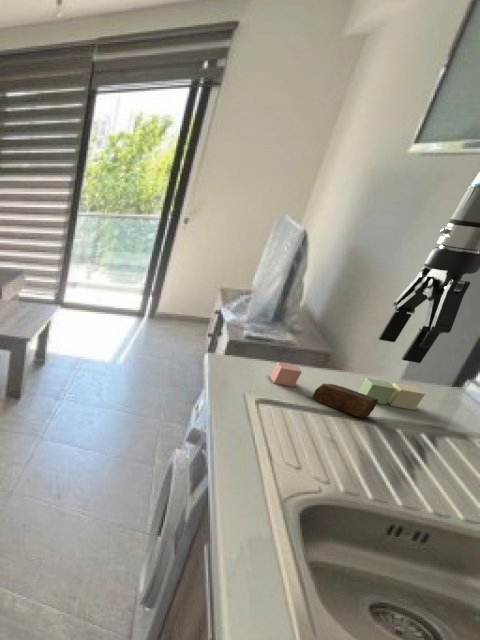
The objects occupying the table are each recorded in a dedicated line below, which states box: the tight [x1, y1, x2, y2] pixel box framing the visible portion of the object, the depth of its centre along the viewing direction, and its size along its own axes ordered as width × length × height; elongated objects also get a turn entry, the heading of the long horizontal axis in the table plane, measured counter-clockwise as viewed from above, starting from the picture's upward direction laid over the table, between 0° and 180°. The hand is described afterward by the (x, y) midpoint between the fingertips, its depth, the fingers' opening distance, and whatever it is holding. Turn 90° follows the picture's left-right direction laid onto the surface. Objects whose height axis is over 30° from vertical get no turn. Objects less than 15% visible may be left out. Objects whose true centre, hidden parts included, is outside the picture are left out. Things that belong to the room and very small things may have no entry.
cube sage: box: [357, 377, 395, 405], centre depth 122 cm, size 4×4×4 cm
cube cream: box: [387, 382, 426, 411], centre depth 120 cm, size 4×4×4 cm
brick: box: [312, 383, 378, 419], centre depth 116 cm, size 11×4×5 cm, turn 22°
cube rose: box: [270, 362, 303, 388], centre depth 129 cm, size 4×4×4 cm
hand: (397, 350), depth 103 cm, fingers open, 13 cm apart
